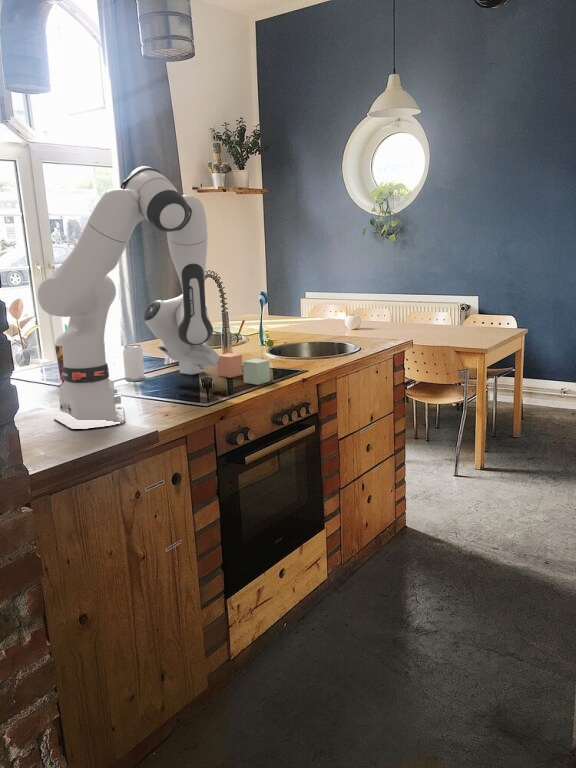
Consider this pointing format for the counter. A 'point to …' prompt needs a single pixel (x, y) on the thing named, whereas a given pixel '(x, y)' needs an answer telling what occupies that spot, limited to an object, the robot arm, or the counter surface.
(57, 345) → the smoothie
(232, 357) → the terracotta block
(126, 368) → the can
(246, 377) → the sage block
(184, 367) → the bluegrey block
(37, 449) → the counter surface
